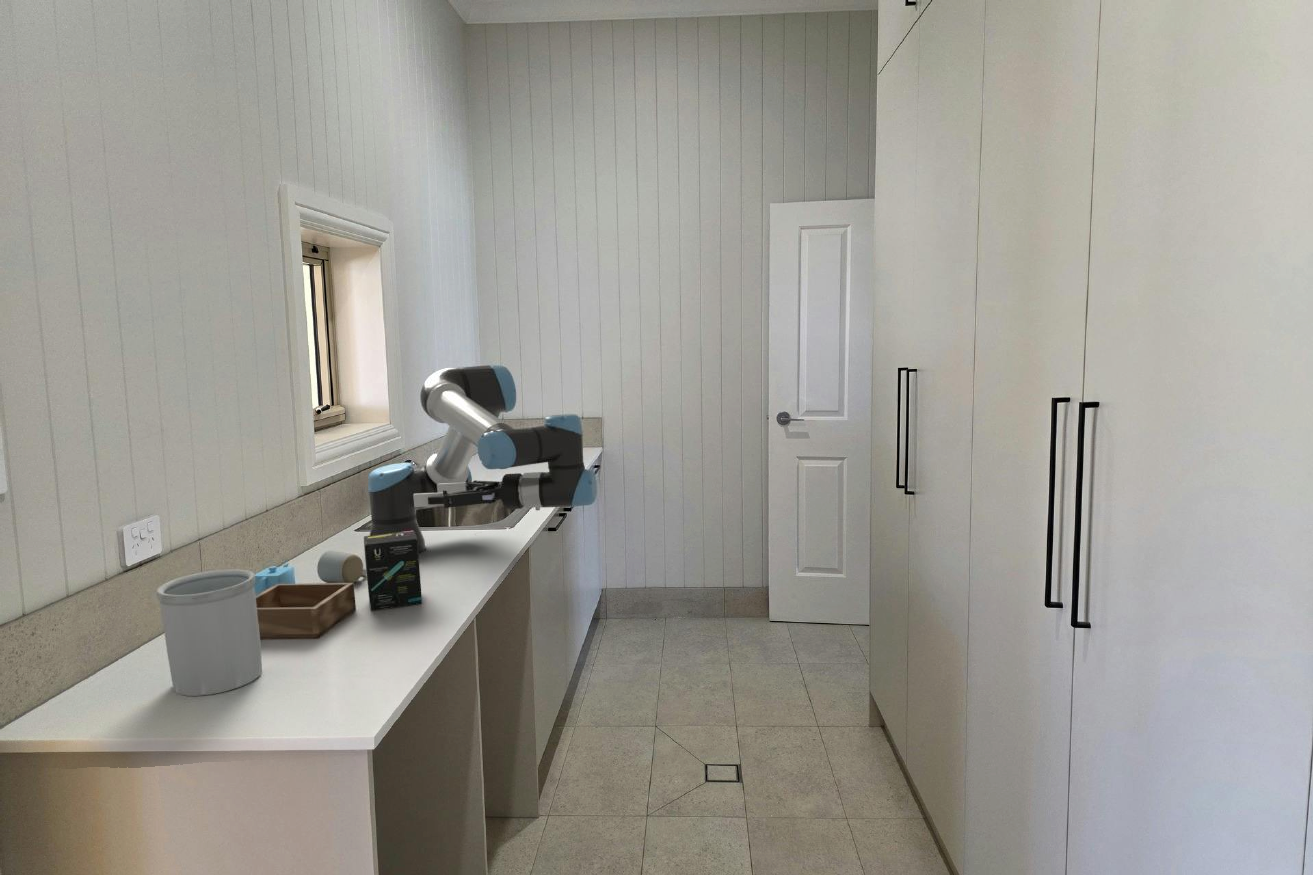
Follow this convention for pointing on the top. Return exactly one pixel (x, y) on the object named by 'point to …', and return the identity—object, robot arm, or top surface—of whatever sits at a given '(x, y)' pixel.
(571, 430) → the robot arm
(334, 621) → the box
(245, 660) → the utensil holder
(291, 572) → the teapot
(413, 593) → the tampon box
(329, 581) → the ceramic mug
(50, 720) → the top surface
